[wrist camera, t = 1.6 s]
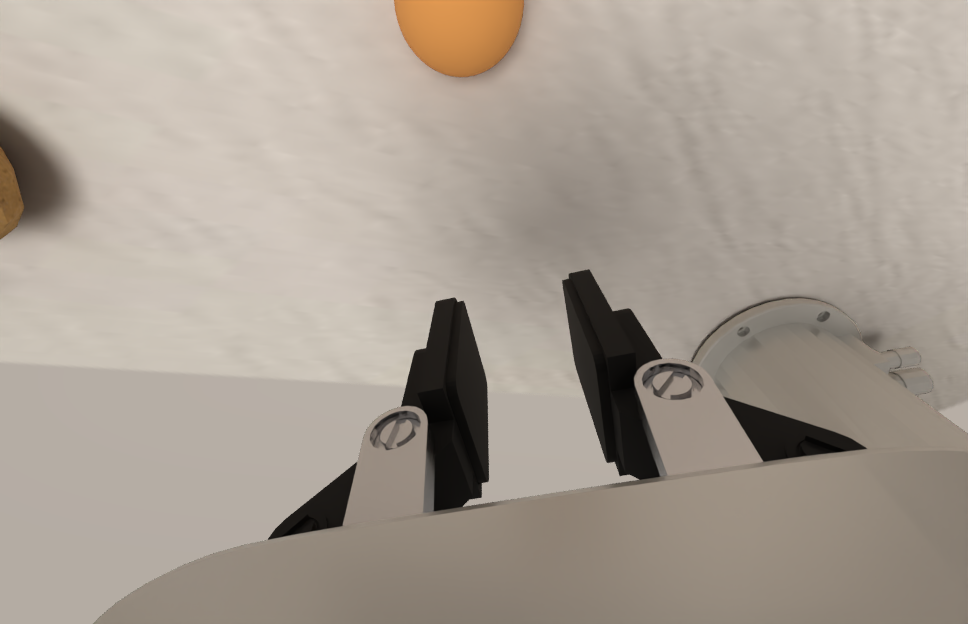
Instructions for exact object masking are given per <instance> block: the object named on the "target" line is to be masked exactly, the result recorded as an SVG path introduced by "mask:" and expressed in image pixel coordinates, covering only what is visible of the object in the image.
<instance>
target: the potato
mask: <svg viewBox="0 0 968 624" xmlns="http://www.w3.org/2000/svg"><path fill="white" fill-rule="evenodd" d="M23 210H24V204H23V201H22V197H21V194H20V190H19V186H18V183H17V179H16V176H15V172H14V169H13V167H12V165H11V163H10V162H9V160H8V158H7V156H6V155H5V153H4V151H3V149H2V148H1V147H0V239H2V238H3V237H4V236H6V235H7V234H8V233H9V232H11V231H12V230H13V229H14V228H16V227H17V225H18V222H19V220H20V217H21V215H22V212H23Z"/></svg>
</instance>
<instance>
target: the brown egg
mask: <svg viewBox="0 0 968 624" xmlns="http://www.w3.org/2000/svg"><path fill="white" fill-rule="evenodd" d="M394 3H395V11H396V16H397V20H398V23H399V26H400V29H401V31H402V34H403V36H404V38H405V40H406V41H407V43H408V45H409V47H410V48H411V49H412V50H413V52H414V53H415V54H416V55H417V56H418V57H419V58H420V59H421V60H422V61H423V62H424V63H425V64H426V65H428V66H429V67H431V68H432V69H434V70H435V71H438V72H440V73H442V74H445V75H449V76H454V77H468V76H474V75H477V74H480V73H483V72H485V71H487V70H488V69H490V68H491V67H493V66H494V65H496V64H497V63H498V62H499V61H500V60H501V59H502V58H503V57H504V56H505V55H506V53H507V52H508V51H509V49H510V48H511V46H512V44H513V43H514V40H515V38H516V36H517V34H518V31H519V28H520V25H521V20H522V16H523V8H524V0H394Z"/></svg>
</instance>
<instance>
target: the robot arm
mask: <svg viewBox="0 0 968 624" xmlns="http://www.w3.org/2000/svg"><path fill="white" fill-rule="evenodd" d="M562 283H563V290H564V297H565V303H566V310H567V316H568V323H569V329H570V336H571V342H572V349H573V355H574V361H575V366H576V370H577V373H578V376H579V379H580V382H581V385H582V388H583V391H584V395H585V398H586V401H587V404H588V407H589V409H590V413H591V416H592V419H593V422H594V425H595V429H596V432H597V435H598V438H599V441H600V444H601V447H602V450H603V453H604V456H605V459H606V462H607V463H610V462H615V463H616V466H617V469H618V472H619V475H620V476H622V475H632V476H634V477H636V478H638V479H639V480H636V481H629V482H622V483H616V484H609V485H602V486H596V487H589V488H582V489H576V490H569V491H563V492H556V493H550V494H543V495H537V496H530V497H524V498H517V499H511V500H504V501H498V502H492V503H485V504H479V505H472V506H466V507H463V505H464V504H465V503H466V502H467V501H468V500H469V499H475V498H481V497H482V483H484V482H488V481H489V460H488V459H489V456H488V405H487V404H488V400H487V381H486V376H485V372H484V369H483V365H482V362H481V358H480V355H479V351H478V348H477V344H476V341H475V337H474V334H473V330H472V327H471V324H470V320H469V317H468V313H467V310H466V306H465V303H464V301H460V302H457V300H456V298H450V299H445V300H440V301H436V303H435V308H434V312H433V317H432V322H431V327H430V332H429V337H428V342H427V347H426V348H425V349H420V350H416V351H415V353H414V356H413V360H412V364H411V368H410V372H409V376H408V380H407V385H406V389H405V393H404V397H403V401H402V405H401V407H397V408H394V409H391V410H389V411H387V412H385V413H383V414H382V415H380V416H379V417H378V418H376V419H375V420H374V421H373V422H372V423H371V424H370V426H369V427H368V428H367V429H366V432H365V434H364V437H363V440H362V445H361V449H360V453H359V458H358V462H356V463H355V464H354V465H353V466H351V467H350V468H349V469H348V470H346V471H345V472H344V473H343V474H341V475H340V476H339V477H338V478H337V479H335V480H334V481H333V482H331V483H330V484H329V485H328V486H327V487H325V488H324V489H323V490H321V491H320V492H319V493H318V494H316V495H315V496H314V497H313V498H311V499H310V500H309V501H308V502H306V503H305V504H304V505H303V506H301V507H300V508H299V509H298V510H296V511H295V512H294V513H293V514H291V515H290V516H289V517H288V518H286V519H285V520H284V521H283V522H282V523H281V524H280V525H279V526H278V527H277V528H276V529H275V530H274V532H273V533H272V534H271V536H270V537H269V538H268V540H265V541H260V542H255V543H250V544H245V545H241V546H238V547H234V548H231V549H227V550H224V551H220V552H216V553H213V554H210V555H208V556H205V557H203V558H200V559H197V560H194V561H192V562H189V563H187V564H184V565H182V566H180V567H178V568H176V569H174V570H172V571H170V572H168V573H166V574H164V575H162V576H160V577H158V578H156V579H154V580H152V581H150V582H148V583H146V584H145V585H143V586H141V587H140V588H138V589H137V590H135V591H133V592H131V593H130V594H128V595H127V596H126V597H124V598H123V599H121V600H120V601H118V602H117V603H115V604H114V605H113V606H112V607H111V608H109V609H108V610H107V611H106V612H105V613H104V614H102V616H100V617H99V618H98V619H97V620H96V621H95V622H94V623H93V624H968V433H966V432H965V431H963V430H962V429H961V428H959V427H958V426H957V425H955V424H954V423H952V422H951V421H950V420H948V419H947V418H946V417H944V416H943V415H942V414H940V413H939V412H938V411H936V410H935V409H934V408H932V407H931V406H929V405H928V404H927V403H925V402H924V401H923V400H921V399H920V398H919V397H917V396H916V395H919V394H926V393H929V392H931V391H932V389H933V381H932V379H931V377H930V375H929V374H928V373H927V372H926V371H925V370H923V369H921V368H910V369H904V370H898V371H892V372H889V370H890V369H891V368H895V369H896V368H902V367H908V366H914V365H918V364H919V363H920V362H921V356H920V354H919V352H918V351H917V350H916V349H915V348H913V347H910V346H909V347H904V348H898V349H892V350H887V351H886V352H878V351H876V350H873V349H872V348H870V347H869V346H867V345H866V344H864V343H863V340H862V336H861V332H860V330H859V329H858V327H857V325H856V323H855V322H854V321H853V320H852V319H851V318H849V317H848V316H847V315H846V314H845V313H843V312H842V311H840V310H838V309H837V308H835V307H834V306H832V305H830V304H827V303H824V302H821V301H819V300H812V299H805V298H795V299H783V300H778V301H772V302H768V303H765V304H762V305H759V306H756V307H753V308H751V309H749V310H747V311H745V312H743V313H741V314H739V315H737V316H735V317H734V318H732V319H731V320H730V321H728V322H727V323H725V324H724V325H722V326H721V327H720V328H719V329H718V330H717V331H715V332H714V333H713V334H712V335H711V336H710V337H709V338H708V339H707V341H706V342H705V343H704V344H703V346H702V347H701V348H700V349H699V351H698V353H697V355H696V357H695V358H694V360H693V362H689V361H686V360H680V359H673V358H672V359H662V357H661V356H660V354H659V353H658V351H657V349H656V348H655V346H654V345H653V343H652V342H651V340H650V338H649V337H648V335H647V334H646V332H645V331H644V329H643V328H642V326H641V324H640V323H639V321H638V320H637V318H636V317H635V315H634V313H633V312H632V311H631V309H623V310H618V311H612V309H611V307H610V306H609V304H608V302H607V300H606V298H605V297H604V295H603V293H602V291H601V290H600V288H599V286H598V284H597V282H596V281H595V279H594V277H593V275H592V273H591V272H590V270H584V271H579V272H574V273H570V274H569V279H566V280H562Z"/></svg>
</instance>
